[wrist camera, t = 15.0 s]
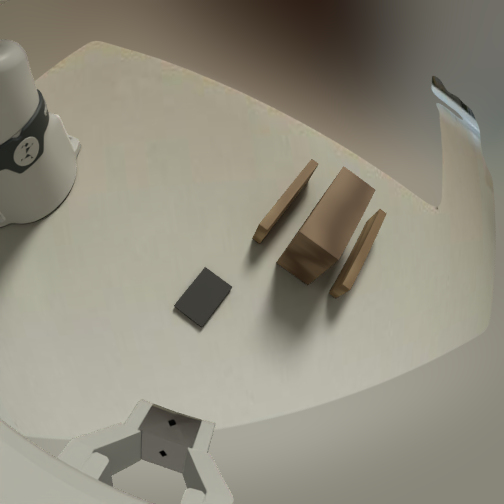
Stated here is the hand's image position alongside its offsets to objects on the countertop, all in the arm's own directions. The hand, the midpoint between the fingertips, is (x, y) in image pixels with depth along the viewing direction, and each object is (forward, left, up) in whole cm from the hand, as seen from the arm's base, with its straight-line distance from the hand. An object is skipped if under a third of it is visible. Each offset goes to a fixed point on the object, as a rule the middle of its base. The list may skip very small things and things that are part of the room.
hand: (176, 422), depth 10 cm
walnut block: (+2, +25, -23) cm, 34 cm away
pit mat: (-5, +10, -23) cm, 26 cm away
